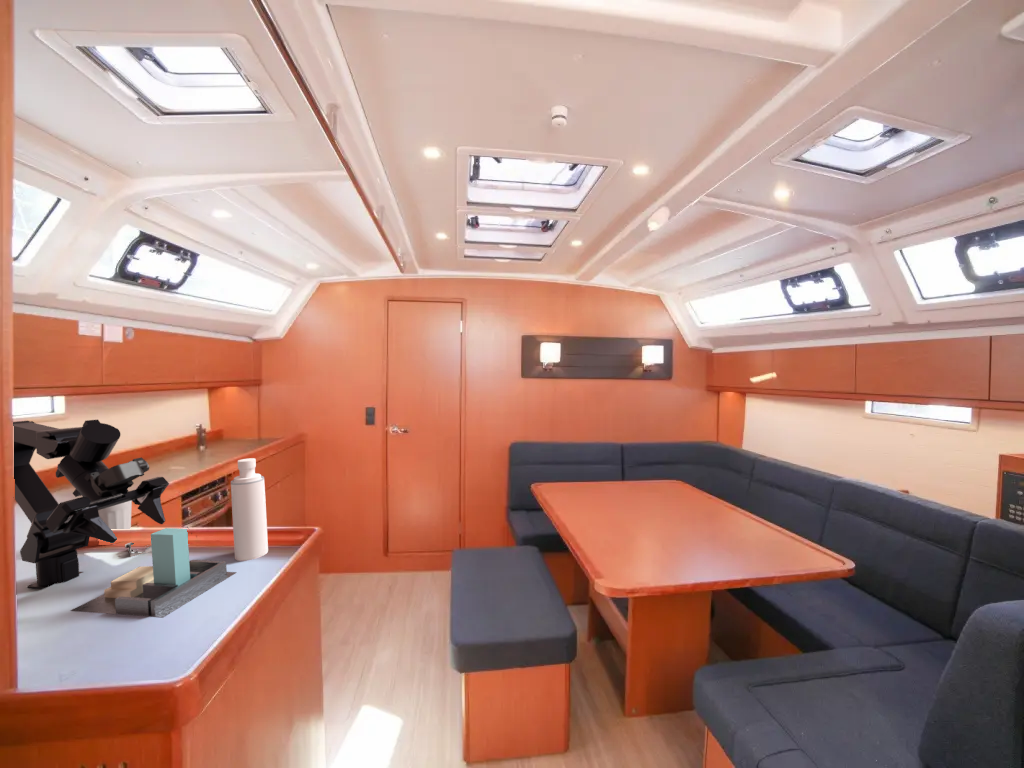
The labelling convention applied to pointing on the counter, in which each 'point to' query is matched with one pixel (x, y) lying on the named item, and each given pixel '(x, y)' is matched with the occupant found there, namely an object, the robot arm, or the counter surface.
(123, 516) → the cup
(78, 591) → the counter surface
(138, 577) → the upper offcut
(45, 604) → the counter surface
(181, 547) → the teal block
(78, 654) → the counter surface
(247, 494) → the white bottle
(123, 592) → the lower offcut
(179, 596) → the tray
